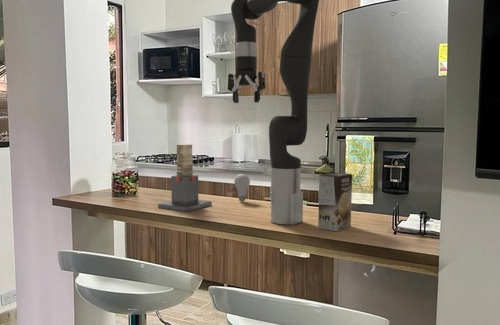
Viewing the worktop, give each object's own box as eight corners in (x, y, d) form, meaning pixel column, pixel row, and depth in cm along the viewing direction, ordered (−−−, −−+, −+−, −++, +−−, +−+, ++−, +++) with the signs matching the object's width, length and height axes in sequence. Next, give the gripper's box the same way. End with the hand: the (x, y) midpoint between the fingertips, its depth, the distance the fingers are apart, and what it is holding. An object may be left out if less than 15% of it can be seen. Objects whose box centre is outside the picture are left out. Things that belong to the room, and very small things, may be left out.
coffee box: (336, 232, 130) (337, 176, 128) (317, 228, 134) (318, 174, 132) (351, 226, 137) (352, 173, 135) (332, 223, 141) (333, 172, 139)
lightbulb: (241, 203, 172) (241, 175, 171) (231, 201, 177) (231, 173, 176) (253, 201, 176) (253, 174, 175) (243, 199, 181) (242, 172, 180)
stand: (211, 205, 170) (211, 174, 168) (188, 211, 158) (187, 179, 157) (182, 201, 177) (182, 172, 176) (158, 207, 165) (157, 176, 164)
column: (193, 186, 167) (192, 144, 166) (185, 187, 164) (185, 145, 162) (184, 185, 169) (183, 144, 168) (176, 186, 166) (176, 144, 164)
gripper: (269, 56, 158) (268, 102, 160) (235, 59, 166) (235, 103, 167) (258, 53, 152) (258, 102, 154) (223, 56, 159) (223, 102, 161)
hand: (246, 102), depth 160 cm, fingers open, 8 cm apart
